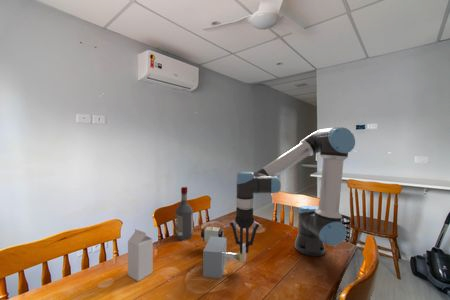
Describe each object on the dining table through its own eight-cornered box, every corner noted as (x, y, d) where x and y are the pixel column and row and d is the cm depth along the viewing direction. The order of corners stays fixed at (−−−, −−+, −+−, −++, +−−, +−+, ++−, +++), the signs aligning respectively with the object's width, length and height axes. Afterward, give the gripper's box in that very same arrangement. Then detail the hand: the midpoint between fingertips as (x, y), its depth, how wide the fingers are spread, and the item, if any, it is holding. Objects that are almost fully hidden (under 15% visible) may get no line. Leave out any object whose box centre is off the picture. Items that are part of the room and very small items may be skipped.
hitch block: (226, 260, 101) (226, 237, 100) (221, 278, 87) (221, 252, 86) (210, 258, 102) (210, 236, 101) (203, 276, 88) (203, 250, 88)
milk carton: (138, 282, 84) (138, 235, 84) (127, 276, 88) (127, 231, 87) (152, 272, 90) (152, 229, 90) (142, 267, 94) (142, 226, 93)
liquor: (188, 232, 132) (188, 185, 131) (194, 237, 124) (194, 188, 123) (174, 235, 127) (174, 187, 126) (179, 241, 119) (179, 189, 119)
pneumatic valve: (222, 252, 108) (222, 229, 108) (200, 249, 110) (200, 227, 110) (224, 247, 113) (224, 225, 113) (203, 244, 116) (203, 223, 115)
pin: (242, 259, 95) (242, 249, 95) (242, 265, 90) (242, 254, 90) (209, 256, 97) (209, 246, 97) (207, 262, 92) (207, 251, 92)
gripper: (259, 205, 94) (258, 256, 95) (231, 203, 96) (230, 253, 97) (259, 210, 87) (259, 265, 87) (229, 208, 89) (228, 262, 89)
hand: (244, 259), depth 92 cm, fingers closed
